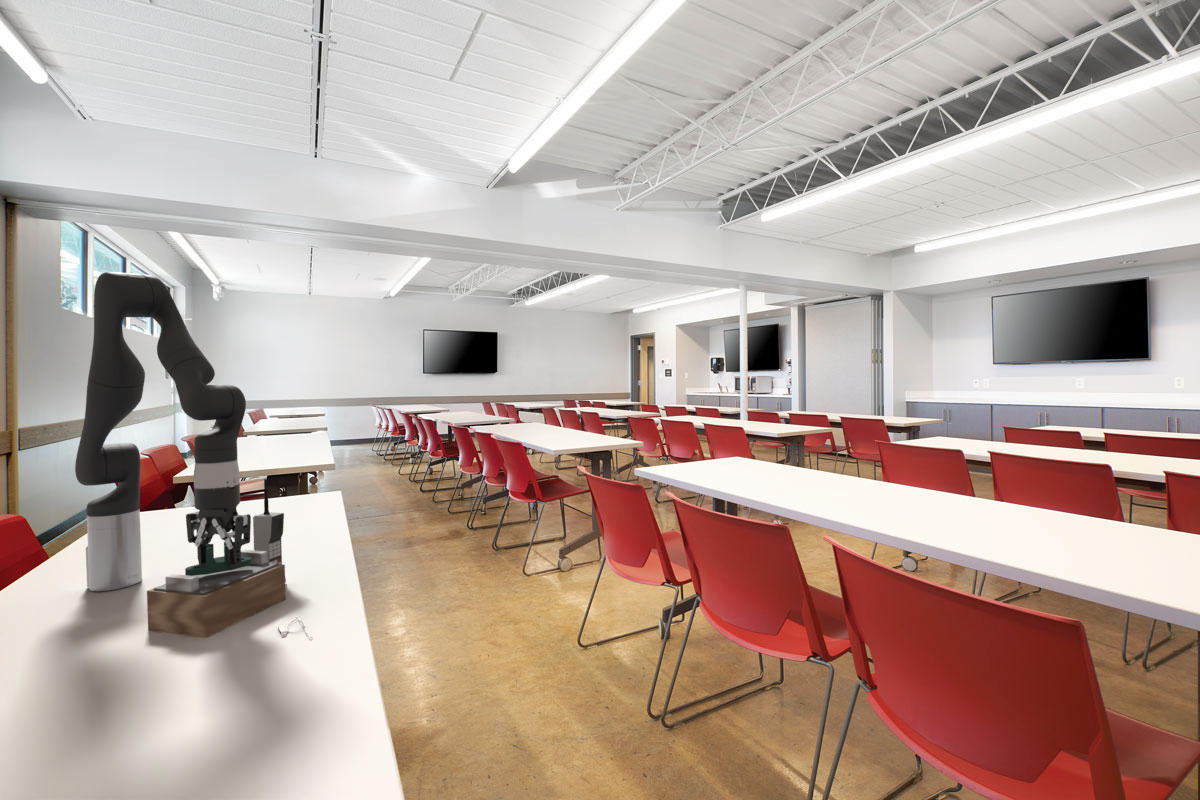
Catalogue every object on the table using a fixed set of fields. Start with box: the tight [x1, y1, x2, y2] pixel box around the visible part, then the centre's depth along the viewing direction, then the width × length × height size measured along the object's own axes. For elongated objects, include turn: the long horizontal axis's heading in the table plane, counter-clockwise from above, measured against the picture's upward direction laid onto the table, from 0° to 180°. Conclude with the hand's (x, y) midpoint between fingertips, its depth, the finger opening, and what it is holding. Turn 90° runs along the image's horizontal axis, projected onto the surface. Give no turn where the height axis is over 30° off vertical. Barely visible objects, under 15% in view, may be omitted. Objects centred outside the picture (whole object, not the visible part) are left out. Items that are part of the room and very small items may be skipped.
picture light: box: [277, 615, 314, 641], centre depth 101 cm, size 14×4×2 cm, turn 39°
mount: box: [184, 541, 252, 576], centre depth 108 cm, size 11×4×5 cm, turn 126°
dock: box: [146, 549, 287, 638], centre depth 108 cm, size 14×18×10 cm
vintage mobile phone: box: [252, 478, 287, 584], centre depth 124 cm, size 4×5×25 cm
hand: (219, 564), depth 108 cm, fingers closed on mount, 6 cm apart
